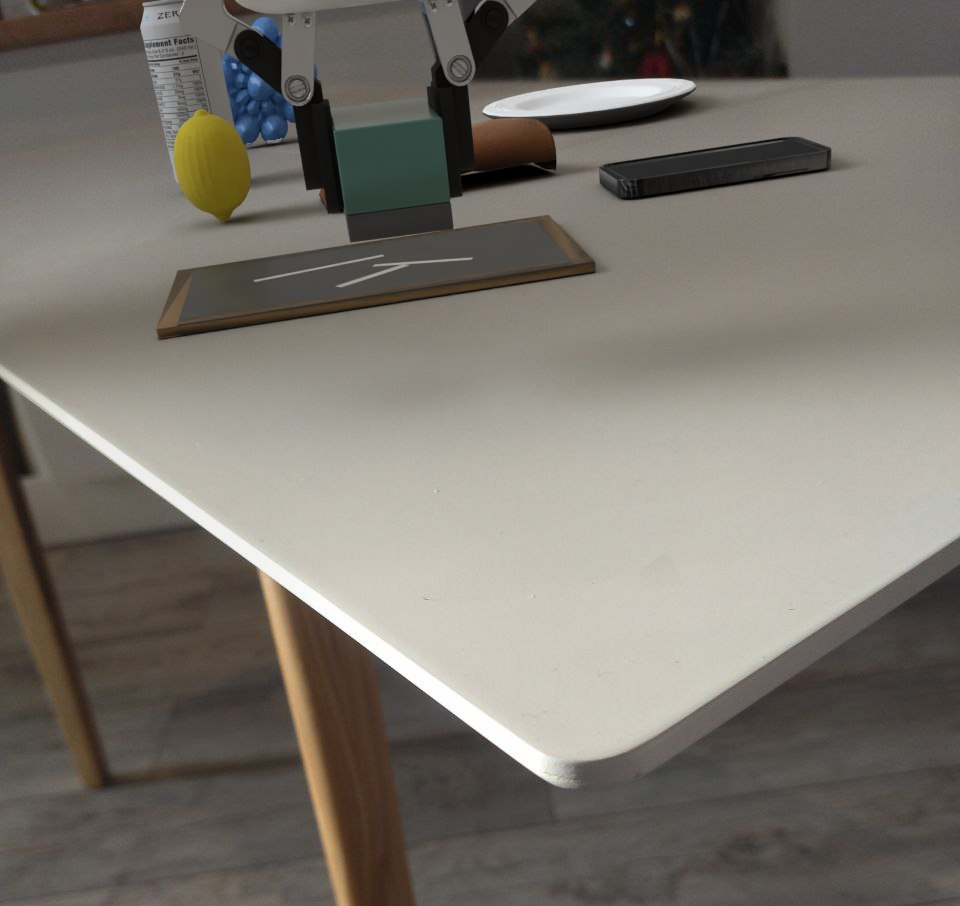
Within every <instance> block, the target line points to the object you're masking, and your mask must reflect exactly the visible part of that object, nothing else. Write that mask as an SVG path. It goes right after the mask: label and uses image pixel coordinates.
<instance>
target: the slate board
mask: <svg viewBox="0 0 960 906" xmlns="http://www.w3.org/2000/svg"><path fill="white" fill-rule="evenodd" d="M596 267H597V266H596V261H595V260H594V259H593V257H591V256H590V255H589V254H588V253H587V252H586V250H585V249H584V248H583V247H581V246H580V245H579V244H578V243H577V242H576V241H575V239H573V237H571V235H570V234H568V233H567V231H565V229H564V228H562V226H560V224H559V223H558V222H556V220H555V219H554V218H553V217H552V216H551V215H550V214H545V215H537V216H531V217H525V218H524V217H523V218H518V219H510V220H505V221H504V220H503V221H498V222H490V223H484V224H478V225H471V226H464V227H457V228H453V229H451V230H444V231H436V232H428V233H421V234H413V235H405V236H398V237H390V238H383V239H376V240H370V241H363V242H356V243H351V244H344V245H338V246H331V247H325V248H319V249H318V248H317V249H312V250H304V251H297V252H292V253H284V254H279V255H272V256H265V257H258V258H252V259H246V260H239V261H231V262H225V263H218V264H212V265H205V266H199V267H191V268H186V269H178V270H177V271H176V273H175V275H174V279H173V282H172V284H171V287H170V289H169V292H168V295H167V297H166V299H165V303H164V306H163V308H162V311H161V314H160V316H159V319H158V321H157V323H156V326H155V332H156V336H157V339H158V340H160V339H168V338H174V337H175V338H176V337H180V336H186V335H194V334H199V333H200V334H201V333H206V332H213V331H219V330H220V331H221V330H226V329H233V328H240V327H245V326H252V325H258V324H265V323H271V322H278V321H286V320H291V319H292V320H293V319H297V318H304V317H305V318H306V317H311V316H317V315H318V316H319V315H323V314H330V313H337V312H343V311H350V310H351V311H352V310H357V309H362V308H370V307H376V306H382V305H389V304H395V303H401V302H402V303H403V302H410V301H417V300H422V299H429V298H434V297H435V298H436V297H442V296H449V295H454V294H462V293H468V292H474V291H481V290H486V289H493V288H500V287H507V286H513V285H519V284H526V283H532V282H538V281H544V280H552V279H559V278H565V277H572V276H578V275H584V274H590V273H592V274H593V273H596V270H597V268H596Z"/></svg>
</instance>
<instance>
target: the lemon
mask: <svg viewBox="0 0 960 906" xmlns="http://www.w3.org/2000/svg"><path fill="white" fill-rule="evenodd" d="M174 165H175V171H176V175H177V179H178V182H179V184H180V185H179V184H178V185H179V186H180V189H181V191H182V193H183V194H184V196H185V198H186V199H187V200H188V202H189V203H190V204H191V205H192V206H194V207H195V208H196V209H198V210H200V211H201V212H205V213H207V214H210V215H212V216H213V217H214V218H215V219H217V220H218V221H219V222H224V221H225V222H226V221H229V220H230V218H231V216H232V214H233V213H234V211H235V210H236V209H237V208H239V207H240V206H241V205H242V204H243V203H244V201H245V200H246V198H247V197H248V194H249V191H250V189H251V179H252V174H251V173H252V172H251V163H250V158H249V155H248V151H247V148H246V145H244V143H243V141H242V139H241V137H240V135H239V134H238V132H237V130H236V129H235V128H234V127H233V126H232V125H231V124H230V123H229V122H227V121H226V120H224V119H223V118H221V117H218V116H216V115H212V114H209V113H208V112H207V111H206V110H203V109H200V110H197V111H196V112H195V114H194V116H193V117H192V118H190V119H189V120H187V121H186V122H185V123H184V124H183V125H182V126H181V128H180V129H179V131H178V133H177V135H176V138H175V143H174Z"/></svg>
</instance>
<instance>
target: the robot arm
mask: <svg viewBox="0 0 960 906" xmlns="http://www.w3.org/2000/svg"><path fill="white" fill-rule="evenodd" d="M234 1H235V2H236V3H237V4H238V5H240V6H241V7H243V8H245V9H248V10H250V11H253V12H256V13H260V14H267V15H281V33H282V49H281V48H280V47H278V46H277V45H276V44H275V43H274V42H272V41H271V40H270V39H269V38H268V37H266V36H265V35H264V34H263V33H262V32H260V31H259V30H257V29H255V28H253V27H252V25H249V24H247V23H245V22H244V21H242V20H241V19H238V18H237V17H235V16H233V15H232V14H231V13H230V12H228V10H227V8H226V6H225V0H184V2H183V5H182V8H181V10H180V14H179V22H180V25H181V27H182V29H183V30H184V31H186V32H187V33H188V34H190V35H192V36H194V37H196V38H197V39H199V40H201V41H203V42H205V43H207V44H209V45H210V46H212V47H214V48H216V49H218V50H219V52H221V53H222V54H223V53H226V54H228V55H230V56H232V57H233V58H235V59H237V60H239V61H240V62H241V63H243V64H244V65H245V66H246V67H248V68H249V69H250V70H251V71H252V72H254V73H255V74H256V75H257V76H259V77H260V78H261V79H262V80H263V81H265V82H266V83H267V84H268V85H270V86H271V87H272V88H273V89H274V90H276V91H277V92H278V93H279V94H281V95H282V96H283V97H284V98H285V99H286V100H287V102H289V103H290V104H292V106H293V112H294V118H295V123H294V124H295V130H296V137H297V143H298V148H299V149H298V150H299V153H300V155H299V156H300V160H301V166H302V167H301V168H302V173H303V179H304V185H305V190H306V191H314V190H321V189H323V188H324V192H325V198H326V205H327V209H326V211H327V214H328V215H332V214H338V213H341V212H342V211H341V210H344V202H343V195H342V188H341V181H340V175H339V168H338V161H337V155H336V148H335V141H334V135H333V128H332V125H333V123H332V116H331V110H330V109H331V104H330V100H329V98H324V93H323V87H322V82H321V80H319V79H318V78H316V77H314V63H315V64H316V62H315V61H316V58H315V57H316V55H315V54H316V24H317V23H316V21H317V20H316V19H317V12H318V11H325V10H335V9H344V8H351V7H353V8H354V7H361V6H369V5H376V4H387V3H393V2H402V1H404V0H234ZM535 2H537V0H480V1H479V2H477V3H476V4H475V5H474V7H473V8H472V9H471V11H470V13H469V14H468V15H467V17H466V18H465V19H463V16H462V12H461V9H460V5H459V1H458V0H417V3H418V7H419V10H420V13H421V17H422V21H423V24H424V27H425V30H426V35H427V38H428V41H429V46H430V48H431V51H432V54H433V58H434V61H435V62H434V63H433V64H432V65H431V67H430V73H431V81H430V86H429V85H428V86H426V96H427V102H428V103H429V104H430V106H431V107H432V108H433V109H434V110H435V111H436V112H437V114H438V115H439V116H440V117H441V119H442V125H443V134H444V143H445V153H446V162H447V172H448V181H449V190H450V199H455V198H461V197H463V196H464V195H463V183H462V174H461V172H460V171H463V170H471V169H475V155H474V145H473V135H472V125H473V123H472V116H471V105H470V104H471V103H470V95H469V85H468V84H469V83H470V82H471V81H472V80H473V79H474V77H475V75H476V71H477V70H478V68H479V67H480V66H481V65H482V63H483V61H484V60H485V59H486V57H487V56H488V55H489V54H490V52H491V51H492V49H493V48H494V47H495V45H496V44H497V42H498V41H499V40H500V38H501V37H502V35H504V33H505V32H506V29H507V28H508V27H509V26H510V25H511V24H512V23H513V22H514V21H515V20H516V19H518V18H519V17H521V16H522V15H523V14H524V13H525V12H526V11H527V10H528V9H529V8H530V7H532V5H533V4H535Z"/></svg>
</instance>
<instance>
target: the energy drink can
mask: <svg viewBox="0 0 960 906" xmlns="http://www.w3.org/2000/svg"><path fill="white" fill-rule="evenodd" d="M183 2H184V0H154V1H147V2H142V7H143V14H142V19H141V23H140V27H139V29H140V32H141V37H142V41H143V46H144V50H145V55H146V58H147V63H148V69H149V71H150V76H151V80H152V85H153V89H154V94H155V97H156V98H155V99H156V101H157V107H158V110H159V111H158V112H159V116H160V119H161V123H162V128H163V133H164V137H165V141H166V145H167V149H168V154H169V159H170V163H171V167H172V172H173V177H174V180H175V183H176V184H177V185H178V186H180V184H179V182H178V179H177V175H176V171H175V165H174V143H175V138H176V135H177V133H178V131H179V129H180V128H181V126H182V125H183V124H184V123H185V122H186V121H187V120H189V119H190V118H192V117H193V116H194V114H195V112H196V111H197V110H200V109H203V110H206V111H207V112H208V113H209V114H212V115H216V116H218V117H221V118H223V119H224V120H226V121H227V122H229V123H230V124H231V125H232V126H233V127H234V122H233V117H232V112H231V107H230V102H229V97H228V92H227V87H226V82H225V77H224V72H223V67H222V62H221V60H222V58H221V53H220V50H218V49H216V48H214V47H212V46H210V45H209V44H207V43H205V42H203V41H201V40H199V39H197V38H196V37H194V36H192V35H190V34H188V33H187V32H186V31H184V30H183V29H182V27H181V25H180V22H179V14H180V10H181V8H182V5H183ZM234 128H235V127H234Z"/></svg>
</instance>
